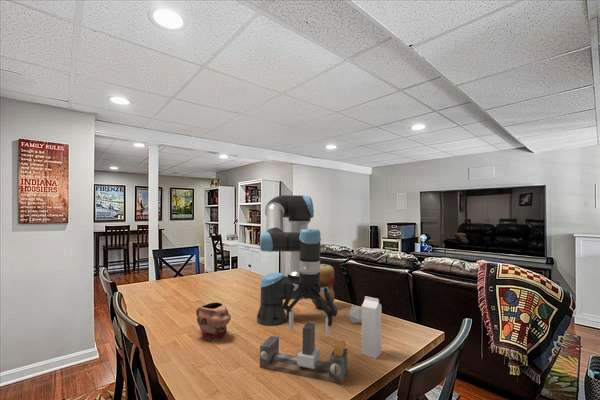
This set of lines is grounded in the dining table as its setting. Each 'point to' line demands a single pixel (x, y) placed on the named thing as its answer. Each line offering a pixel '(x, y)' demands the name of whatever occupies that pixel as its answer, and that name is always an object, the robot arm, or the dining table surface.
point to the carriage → (308, 348)
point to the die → (356, 314)
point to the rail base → (288, 364)
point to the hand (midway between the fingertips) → (308, 332)
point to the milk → (371, 327)
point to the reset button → (338, 347)
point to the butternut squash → (326, 282)
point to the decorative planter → (213, 320)
